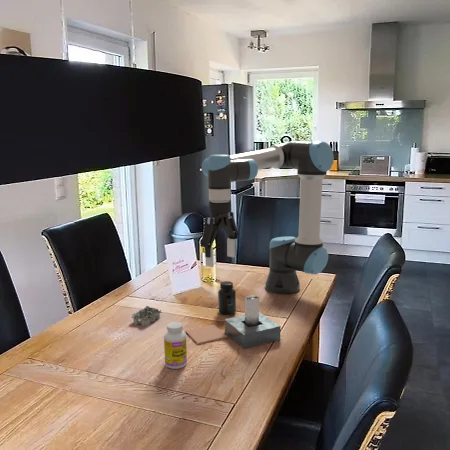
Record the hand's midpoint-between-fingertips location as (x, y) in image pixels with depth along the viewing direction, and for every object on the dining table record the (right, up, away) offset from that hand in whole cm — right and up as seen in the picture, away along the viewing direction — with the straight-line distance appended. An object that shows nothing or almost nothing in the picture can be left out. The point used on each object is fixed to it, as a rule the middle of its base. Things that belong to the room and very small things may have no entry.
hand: (220, 261), depth 163 cm
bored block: (+11, -26, -1) cm, 28 cm away
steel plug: (+11, -26, -1) cm, 28 cm away
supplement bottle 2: (+2, -22, +20) cm, 29 cm away
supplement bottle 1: (-13, -30, -20) cm, 38 cm away
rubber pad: (-5, -26, 0) cm, 26 cm away
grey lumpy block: (-28, -24, +14) cm, 39 cm away
